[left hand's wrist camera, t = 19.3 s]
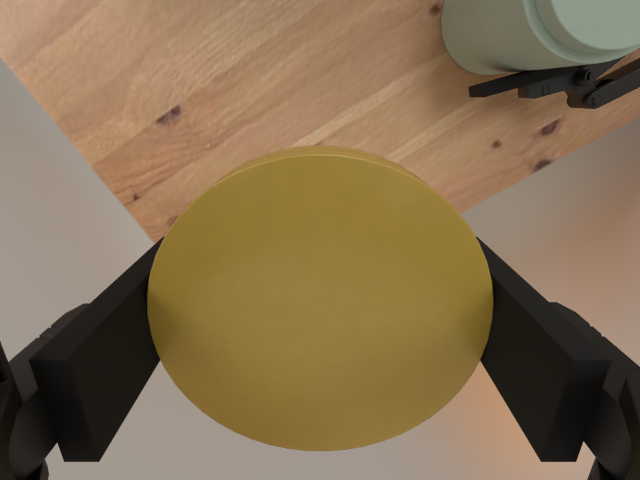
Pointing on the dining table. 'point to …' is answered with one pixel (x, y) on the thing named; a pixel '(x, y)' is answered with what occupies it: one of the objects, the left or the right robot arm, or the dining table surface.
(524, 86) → the right robot arm
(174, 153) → the dining table surface
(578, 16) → the jar
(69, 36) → the dining table surface
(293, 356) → the lid
